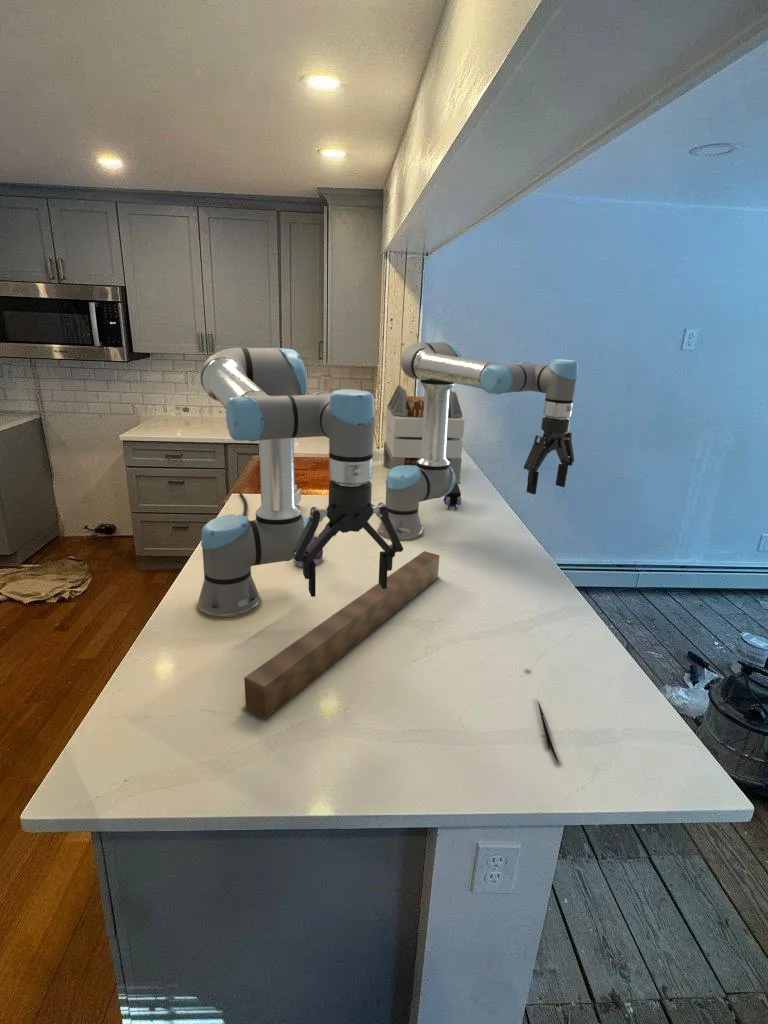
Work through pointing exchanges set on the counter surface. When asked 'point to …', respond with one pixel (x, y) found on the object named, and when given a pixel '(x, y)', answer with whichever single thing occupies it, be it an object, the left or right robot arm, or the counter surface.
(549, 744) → the feather
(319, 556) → the figurine
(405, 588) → the bar
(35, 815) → the counter surface
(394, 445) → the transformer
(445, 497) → the figurine character
